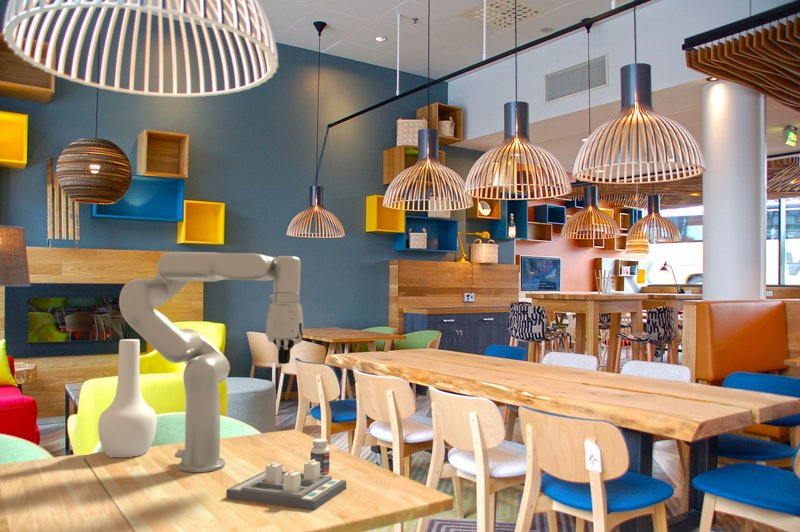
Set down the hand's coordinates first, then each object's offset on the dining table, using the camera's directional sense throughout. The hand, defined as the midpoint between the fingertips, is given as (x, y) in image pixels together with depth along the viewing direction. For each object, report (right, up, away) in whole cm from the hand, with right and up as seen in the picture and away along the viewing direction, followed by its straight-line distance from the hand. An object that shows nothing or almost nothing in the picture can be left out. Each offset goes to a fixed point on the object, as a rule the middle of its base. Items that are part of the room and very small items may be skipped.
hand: (283, 363), depth 180 cm
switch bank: (+5, -29, -24) cm, 38 cm away
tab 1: (+2, -27, -22) cm, 35 cm away
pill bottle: (+11, -30, -6) cm, 32 cm away
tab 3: (+11, -27, -20) cm, 35 cm away
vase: (-51, -30, +14) cm, 61 cm away
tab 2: (+7, -26, -30) cm, 40 cm away
